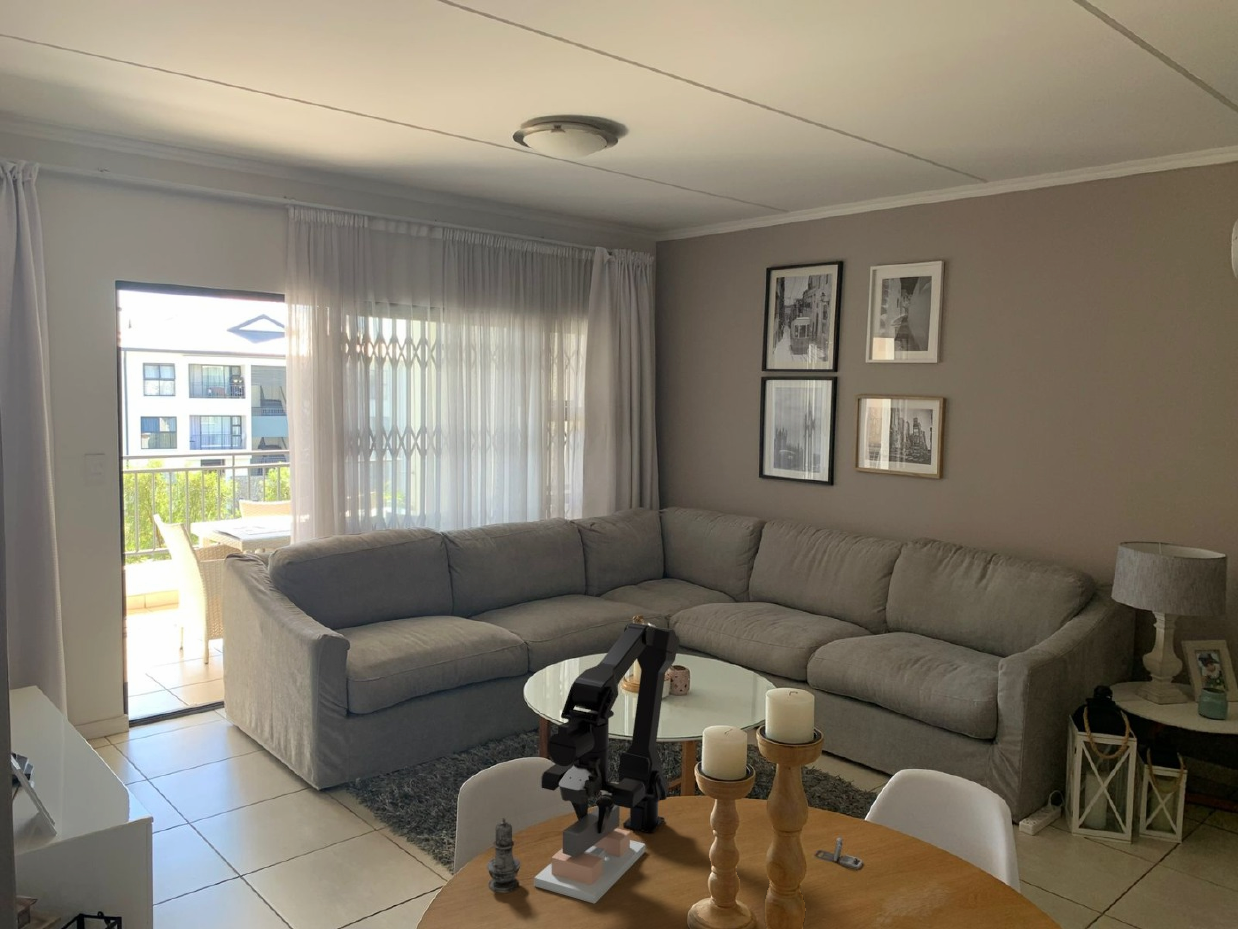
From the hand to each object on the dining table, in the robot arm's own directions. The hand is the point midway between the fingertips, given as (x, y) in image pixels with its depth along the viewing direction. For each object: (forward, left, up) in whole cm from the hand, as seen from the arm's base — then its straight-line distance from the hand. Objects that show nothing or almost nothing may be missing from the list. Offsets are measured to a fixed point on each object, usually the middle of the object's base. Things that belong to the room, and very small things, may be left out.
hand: (592, 830), depth 164 cm
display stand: (0, 0, -7) cm, 7 cm away
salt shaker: (+12, -11, -7) cm, 18 cm away
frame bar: (0, 0, -2) cm, 2 cm away
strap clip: (-24, +39, -8) cm, 46 cm away
